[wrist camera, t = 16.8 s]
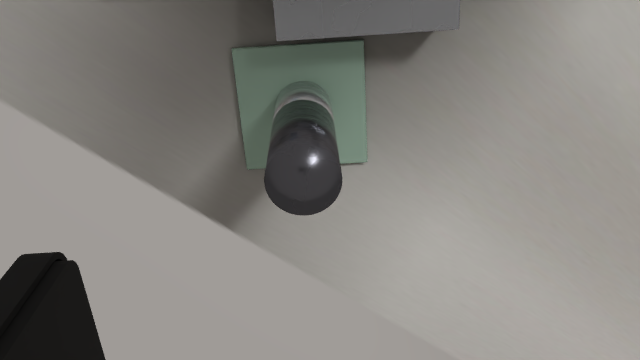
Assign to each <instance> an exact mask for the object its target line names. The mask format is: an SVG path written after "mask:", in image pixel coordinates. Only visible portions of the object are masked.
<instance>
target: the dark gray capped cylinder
mask: <svg viewBox="0 0 640 360" xmlns="http://www.w3.org/2000/svg"><path fill="white" fill-rule="evenodd" d="M264 182H265V189H266V191H267V194H268V196H269V198H270V199H271V200H272V202H273V203H274V204H275V205H276V206H278V207H279V208H280V209H282V210H284V211H286V212H288V213H291V214H295V215H312V214H316V213H318V212H321V211H323V210H325V209H326V208H328V207H329V206H330V205H331V204H332V203H333V202H334V201H335V200H336V198H337V197H338V195H339V193H340V190H341V187H342V173H341V166H340V159H339V153H338V146H337V139H336V132H335V125H334V118H333V111H332V104H331V100H330V98H329V96H328V94H327V92H326V91H325V90H324V89H323V88H322V87H320V86H319V85H317V84H315V83H313V82H309V81H298V82H294V83H292V84H289V85H288V86H286V87H285V88H284V89H283V90H282V91H281V92H280V93H279V95H278V97H277V100H276V103H275V110H274V116H273V123H272V130H271V136H270V143H269V150H268V156H267V163H266V170H265V177H264Z"/></svg>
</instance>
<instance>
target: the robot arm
mask: <svg viewBox="0 0 640 360" xmlns="http://www.w3.org/2000/svg"><path fill="white" fill-rule="evenodd" d="M0 360H105V357H104V353H103V350H102V347H101V343H100V340H99V336H98V332H97V329H96V325H95V322H94V319H93V315H92V312H91V308H90V305H89V302H88V298H87V294H86V291H85V288H84V284H83V281H82V277H81V274H80V270H79V267H78V265H77V264H76V262H74V261H73V260H70V261H67V258H66V257H65V256H64V254H62V253H60V252H52V253H35V254H24V255H21V256H20V257H19V258H17V260H16V261H15V262H14V263H13V265H12V266H11V267H10V268H9V270H8V271H7V272H6V273H5V274H4V276H3V277H2V278H1V280H0Z"/></svg>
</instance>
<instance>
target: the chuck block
mask: <svg viewBox="0 0 640 360" xmlns="http://www.w3.org/2000/svg"><path fill="white" fill-rule="evenodd" d="M273 8H274V19H275V29H276V40H277V41H289V40H304V39H319V38H334V37H349V36H364V35H379V34H395V33H410V32H425V31H440V30H455V29H459V16H460V0H273Z"/></svg>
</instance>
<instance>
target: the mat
mask: <svg viewBox="0 0 640 360" xmlns="http://www.w3.org/2000/svg"><path fill="white" fill-rule="evenodd" d="M232 57H233V65H234V72H235V80H236V88H237V96H238V103H239V111H240V119H241V127H242V134H243V142H244V150H245V158H246V165H247V169H263V168H266V163H267V156H268V150H269V143H270V136H271V130H272V123H273V116H274V110H275V103H276V100H277V97H278V95H279V93H280V92H281V91H282V90H283V89H284V88H285V87H286V86H288V85H289V84H292V83H294V82H298V81H309V82H313V83H315V84H317V85H319V86H320V87H322V88H323V89H324V90H325V91H326V92H327V94H328V96H329V98H330V100H331V104H332V111H333V118H334V125H335V132H336V139H337V146H338V153H339V159H340V164H343V163H359V162H367V134H366V101H365V68H364V41H363V40H348V41H333V42H318V43H303V44H288V45H273V46H257V47H242V48H232Z"/></svg>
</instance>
